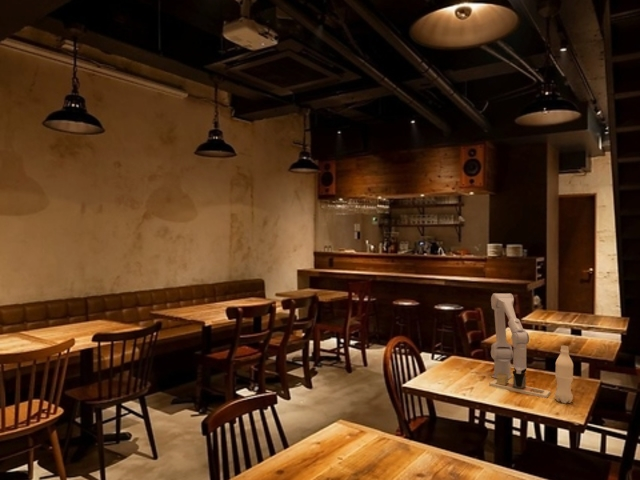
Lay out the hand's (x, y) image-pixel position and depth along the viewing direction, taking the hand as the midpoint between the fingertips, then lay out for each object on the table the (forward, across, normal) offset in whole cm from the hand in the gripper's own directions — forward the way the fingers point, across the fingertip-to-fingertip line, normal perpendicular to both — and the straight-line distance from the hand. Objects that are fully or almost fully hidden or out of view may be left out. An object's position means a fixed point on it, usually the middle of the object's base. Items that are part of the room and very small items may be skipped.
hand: (519, 384), depth 222 cm
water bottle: (+3, +7, +19) cm, 20 cm away
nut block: (+1, 0, 0) cm, 1 cm away
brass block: (+2, -2, -8) cm, 8 cm away
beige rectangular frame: (+2, 0, 0) cm, 2 cm away
